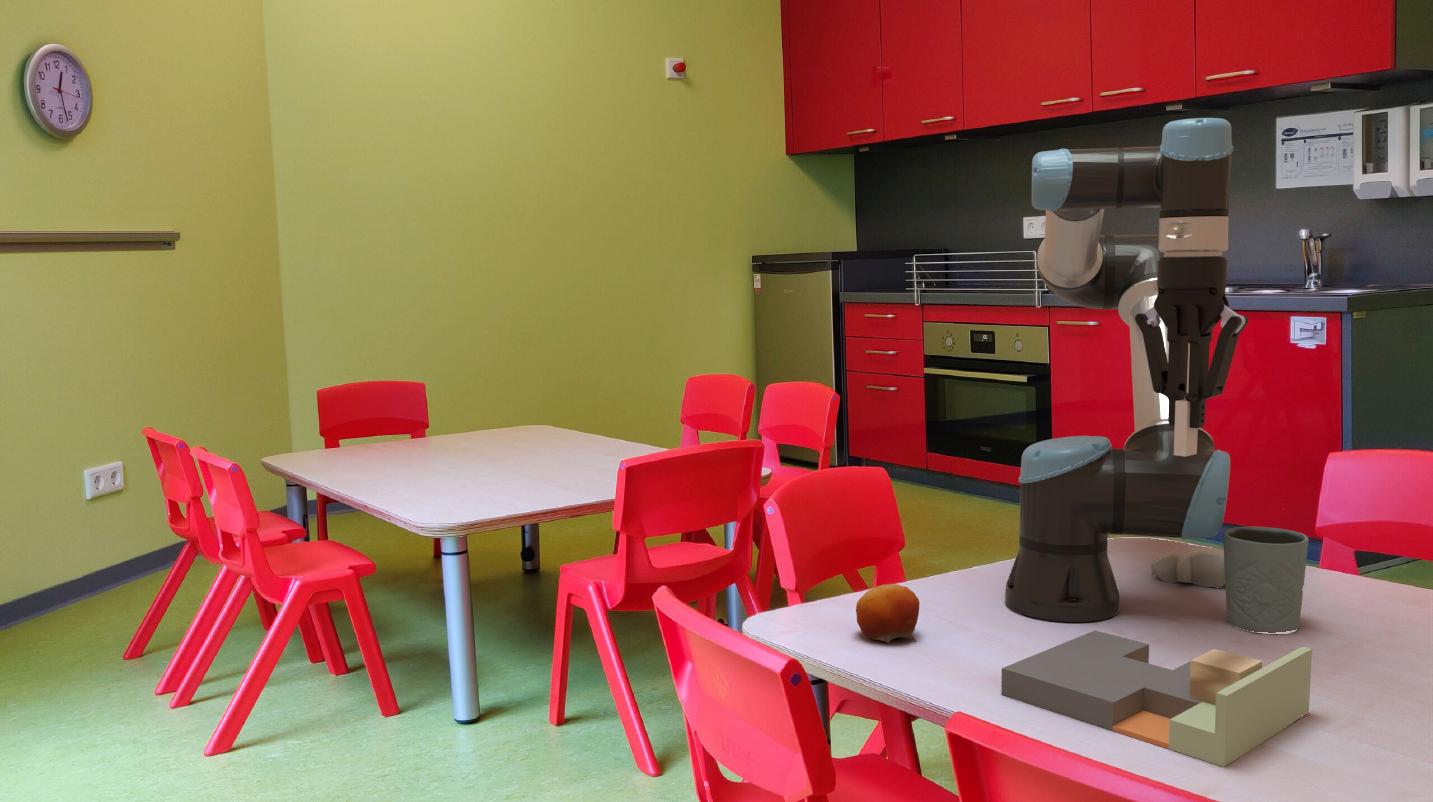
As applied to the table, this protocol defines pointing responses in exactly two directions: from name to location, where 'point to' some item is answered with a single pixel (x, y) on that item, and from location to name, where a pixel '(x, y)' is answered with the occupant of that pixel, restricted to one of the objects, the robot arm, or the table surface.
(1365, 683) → the table surface
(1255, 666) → the block
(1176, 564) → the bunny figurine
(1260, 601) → the embossed grey cup
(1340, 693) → the table surface
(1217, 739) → the box
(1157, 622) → the table surface
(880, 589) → the fruit
